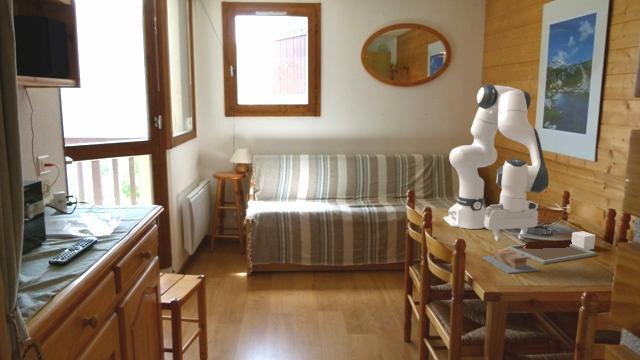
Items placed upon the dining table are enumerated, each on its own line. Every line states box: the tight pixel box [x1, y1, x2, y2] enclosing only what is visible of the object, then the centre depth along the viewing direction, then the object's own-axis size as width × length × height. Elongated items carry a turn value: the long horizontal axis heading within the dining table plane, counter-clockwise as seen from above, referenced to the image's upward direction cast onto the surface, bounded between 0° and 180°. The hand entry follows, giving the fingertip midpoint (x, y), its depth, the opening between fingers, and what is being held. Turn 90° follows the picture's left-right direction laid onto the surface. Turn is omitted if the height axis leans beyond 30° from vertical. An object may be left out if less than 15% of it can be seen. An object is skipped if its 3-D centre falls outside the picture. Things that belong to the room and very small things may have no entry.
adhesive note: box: [571, 230, 596, 251], centre depth 200 cm, size 6×6×6 cm
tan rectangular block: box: [494, 247, 527, 269], centre depth 181 cm, size 11×5×4 cm, turn 20°
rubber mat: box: [481, 255, 541, 275], centre depth 181 cm, size 17×13×1 cm
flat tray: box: [506, 243, 597, 265], centre depth 194 cm, size 19×2×30 cm
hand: (509, 239), depth 180 cm, fingers open, 8 cm apart
